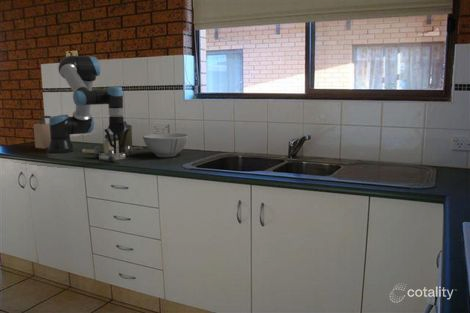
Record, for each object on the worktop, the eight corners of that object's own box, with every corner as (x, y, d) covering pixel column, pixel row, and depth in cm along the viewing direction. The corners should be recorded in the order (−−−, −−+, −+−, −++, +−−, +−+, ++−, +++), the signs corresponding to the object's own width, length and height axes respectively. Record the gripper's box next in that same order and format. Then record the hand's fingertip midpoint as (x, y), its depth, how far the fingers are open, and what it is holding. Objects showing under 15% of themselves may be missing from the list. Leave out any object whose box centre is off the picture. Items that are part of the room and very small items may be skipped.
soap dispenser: (35, 147, 294) (32, 115, 290) (46, 146, 301) (43, 115, 298) (47, 148, 288) (44, 116, 284) (58, 147, 295) (55, 115, 291)
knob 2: (126, 156, 252) (126, 146, 251) (124, 155, 255) (123, 145, 254) (144, 153, 260) (143, 144, 259) (141, 153, 263) (140, 143, 262)
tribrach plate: (94, 158, 248) (92, 134, 246) (118, 155, 258) (116, 132, 256) (106, 161, 237) (105, 136, 235) (130, 158, 247) (129, 134, 245)
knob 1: (107, 160, 238) (106, 150, 237) (112, 160, 240) (111, 149, 239) (122, 162, 231) (121, 151, 230) (126, 161, 234) (126, 151, 233)
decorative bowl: (187, 158, 243) (187, 137, 241) (140, 159, 242) (139, 138, 240) (190, 151, 269) (189, 132, 267) (147, 152, 268) (146, 133, 266)
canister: (128, 155, 258) (127, 122, 254) (112, 154, 260) (111, 122, 256) (136, 152, 268) (134, 120, 265) (121, 152, 270) (119, 120, 267)
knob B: (101, 156, 252) (100, 146, 251) (98, 157, 249) (97, 147, 248) (84, 156, 255) (83, 146, 254) (81, 156, 252) (80, 146, 251)
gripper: (103, 116, 223) (105, 160, 227) (128, 116, 226) (130, 160, 230) (104, 115, 230) (106, 158, 234) (128, 115, 233) (130, 157, 237)
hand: (117, 159), depth 232 cm, fingers closed
